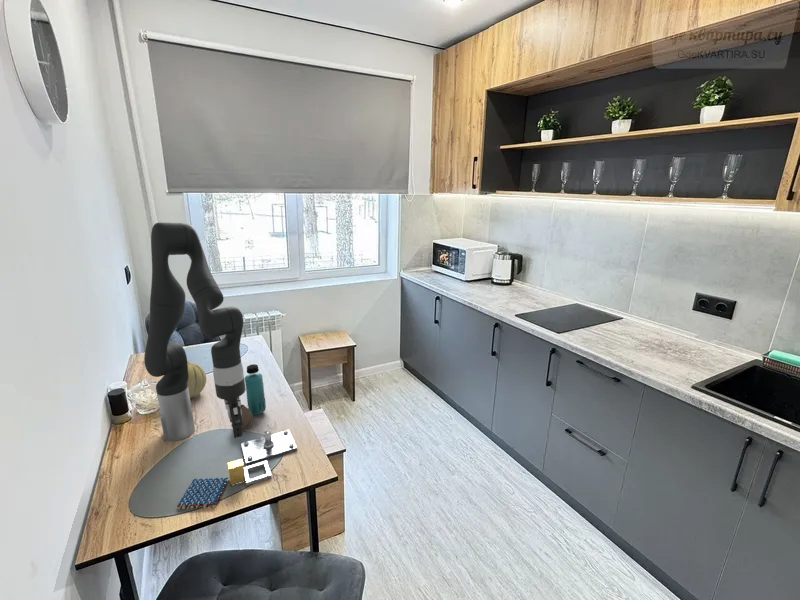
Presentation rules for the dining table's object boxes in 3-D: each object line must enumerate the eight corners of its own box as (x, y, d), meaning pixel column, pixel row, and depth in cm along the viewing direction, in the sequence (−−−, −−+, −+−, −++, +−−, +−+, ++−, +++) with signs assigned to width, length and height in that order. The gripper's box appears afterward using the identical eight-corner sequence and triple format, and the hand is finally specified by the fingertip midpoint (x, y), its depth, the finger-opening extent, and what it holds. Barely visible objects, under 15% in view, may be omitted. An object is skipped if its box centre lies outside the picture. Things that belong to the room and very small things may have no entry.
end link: (231, 491, 109) (229, 473, 108) (229, 475, 115) (226, 458, 113) (271, 477, 114) (269, 461, 113) (267, 463, 120) (265, 447, 119)
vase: (234, 435, 134) (231, 413, 131) (232, 424, 140) (229, 403, 137) (254, 430, 137) (252, 408, 134) (252, 420, 143) (249, 399, 140)
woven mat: (193, 482, 113) (192, 477, 112) (230, 481, 114) (229, 475, 113) (175, 511, 103) (174, 505, 102) (216, 509, 104) (215, 503, 103)
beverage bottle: (260, 419, 143) (255, 370, 137) (244, 417, 144) (239, 369, 139) (269, 409, 149) (265, 363, 144) (254, 407, 150) (249, 361, 145)
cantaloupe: (165, 409, 149) (159, 374, 144) (170, 391, 161) (164, 359, 157) (208, 401, 154) (203, 367, 150) (209, 384, 167) (204, 353, 163)
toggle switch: (245, 465, 119) (243, 449, 117) (241, 445, 128) (239, 430, 127) (297, 450, 127) (296, 434, 125) (289, 432, 136) (288, 417, 134)
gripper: (212, 370, 109) (219, 420, 114) (216, 393, 98) (224, 447, 102) (240, 365, 113) (246, 413, 118) (248, 385, 101) (254, 438, 106)
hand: (236, 428), depth 110 cm, fingers open, 8 cm apart
